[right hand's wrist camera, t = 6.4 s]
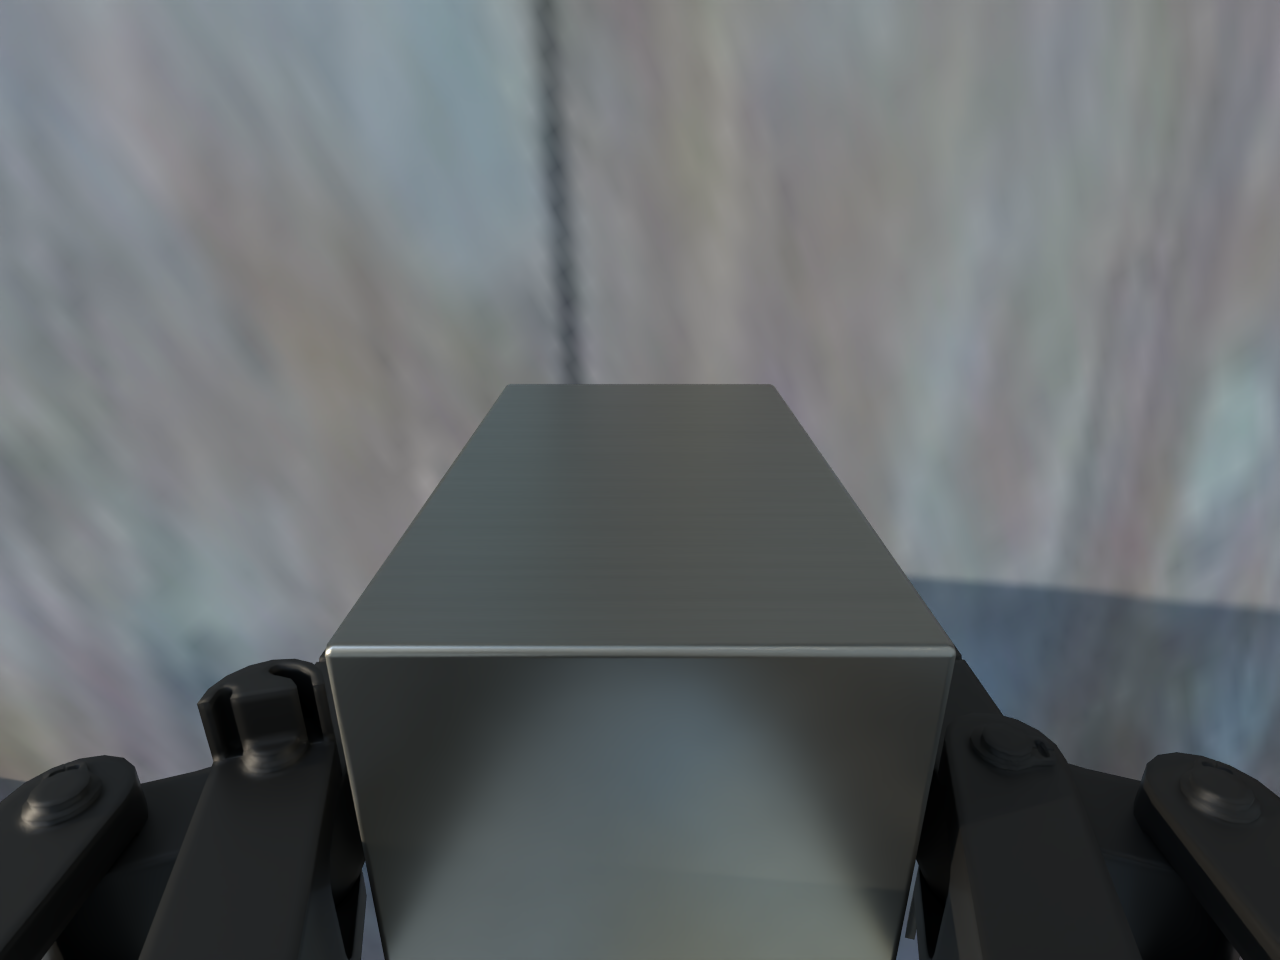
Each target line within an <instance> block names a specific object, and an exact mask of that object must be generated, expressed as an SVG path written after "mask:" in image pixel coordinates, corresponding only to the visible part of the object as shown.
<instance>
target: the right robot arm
mask: <svg viewBox="0 0 1280 960" xmlns="http://www.w3.org/2000/svg"><path fill="white" fill-rule="evenodd" d="M945 633H946V632H945ZM954 647H955V645H954ZM325 650H326V649H325ZM955 650H956V658H955V663H954V668H953V673H952V678H951V684H950V689H949V694H948V699H947V704H946V709H945V714H944V719H943V724H942V729H941V734H940V739H939V744H938V749H937V754H936V759H935V764H934V769H933V774H932V780H931V785H930V790H929V795H928V800H927V805H926V810H925V815H924V820H923V825H922V830H921V835H920V840H919V845H918V850H917V855H916V860H917V862H918V865H919V867H918V872H917V877H916V882H915V887H914V892H913V897H912V902H911V907H910V912H909V917H908V922H907V928H906V934H905V938H910V939H915V934H916V929H917V939H918V951H919V960H1239V957H1240V956H1241V957H1242V959H1243V960H1280V798H1279V797H1278V796H1277V795H1276V794H1274V793H1273V792H1272V791H1270V790H1269V789H1268V788H1267V787H1265V786H1264V785H1263V784H1262V783H1260V782H1259V781H1258V780H1256V779H1254V778H1252V777H1251V776H1249V775H1247V774H1245V773H1243V772H1241V771H1239V770H1237V769H1236V768H1234V767H1232V766H1230V765H1227V764H1224V763H1222V762H1219V761H1215V760H1213V759H1209V758H1207V757H1204V756H1199V755H1192V754H1185V753H1178V752H1176V753H1169V754H1162V755H1157V756H1156V757H1155V758H1154V759H1152V760H1151V761H1150V762H1149V763H1147V765H1146V768H1145V771H1144V774H1143V777H1142V780H1141V781H1138V780H1133V779H1129V778H1125V777H1120V776H1116V775H1111V774H1107V773H1102V772H1098V771H1093V770H1089V769H1085V768H1082V767H1078V766H1075V765H1072V764H1068V763H1067V761H1066V759H1065V758H1064V756H1063V754H1062V753H1061V751H1060V750H1059V748H1058V747H1057V745H1056V744H1055V743H1053V742H1052V741H1051V740H1050V739H1048V738H1047V737H1046V736H1045V735H1044V734H1042V733H1041V732H1040V731H1039V730H1037V729H1035V728H1033V727H1031V726H1029V725H1027V724H1025V723H1023V722H1021V721H1019V720H1017V719H1013V718H1009V717H1006V716H1003V714H1002V713H1001V712H1000V710H999V709H998V707H997V706H996V704H995V703H994V702H993V700H992V699H991V697H990V696H989V694H988V693H987V691H986V690H985V689H984V687H983V686H982V684H981V683H980V681H979V680H978V678H977V677H976V676H975V674H974V673H973V671H972V670H971V668H970V667H969V666H968V664H967V663H966V661H965V660H962V658H961V656H962V655H961V654H960V653H959V651H958V650H957V648H956V647H955ZM319 659H320V660H319V662H316V664H315V665H314V664H313V663H310V662H306V661H302V660H297V659H280V660H270V661H266V662H262V663H258V664H254V665H250V666H247V667H245V668H243V669H241V670H239V671H236V672H234V673H232V674H230V675H227V676H226V677H224V678H223V679H222V680H220V681H219V682H217V683H216V684H215V685H213V686H212V687H211V688H209V689H208V690H207V691H206V693H205V694H204V695H203V697H202V698H201V699H200V701H199V702H198V703H197V705H198V709H199V712H200V716H201V719H202V723H203V726H204V730H205V733H206V737H207V740H208V744H209V747H210V751H211V754H212V758H213V761H214V762H213V764H212V767H209V768H205V769H202V770H198V771H195V772H191V773H186V774H182V775H178V776H173V777H169V778H164V779H160V780H156V781H151V782H147V783H142V784H140V781H139V778H138V775H137V772H136V769H135V767H134V766H133V765H132V764H131V763H129V762H128V761H127V760H126V759H124V758H121V757H114V756H107V755H103V756H96V757H89V758H82V759H78V760H75V761H72V762H68V763H66V764H62V765H60V766H57V767H54V768H52V769H50V770H48V771H46V772H44V773H42V774H40V775H39V776H37V777H35V778H33V779H31V780H29V781H27V782H26V783H24V784H23V785H22V786H20V787H19V788H18V789H16V790H15V791H14V792H13V793H11V794H10V795H9V796H8V797H6V798H5V799H4V800H3V801H1V802H0V960H41V959H42V960H361V953H362V941H363V930H364V919H365V908H366V896H367V895H366V889H365V883H364V877H363V872H362V867H363V865H364V862H365V856H364V851H363V846H362V841H361V836H360V831H359V826H358V821H357V816H356V810H355V805H354V800H353V795H352V790H351V785H350V780H349V775H348V770H347V765H346V760H345V755H344V750H343V744H342V739H341V734H340V729H339V724H338V719H337V714H336V709H335V704H334V699H333V694H332V689H331V684H330V678H329V673H328V668H327V663H326V658H325V651H324V652H323V653H322V655H321V656H320V658H319Z"/></svg>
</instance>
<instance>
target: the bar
mask: <svg viewBox="0 0 1280 960" xmlns="http://www.w3.org/2000/svg"><path fill="white" fill-rule="evenodd" d="M325 658H326V663H327V668H328V673H329V678H330V684H331V689H332V694H333V699H334V704H335V709H336V714H337V719H338V724H339V729H340V734H341V739H342V744H343V750H344V755H345V760H346V765H347V770H348V775H349V780H350V785H351V790H352V795H353V800H354V805H355V810H356V816H357V821H358V826H359V831H360V836H361V841H362V846H363V851H364V856H365V861H366V866H367V871H368V876H369V882H370V887H371V892H372V897H373V902H374V907H375V912H376V917H377V922H378V927H379V932H380V937H381V942H382V948H383V953H384V958H385V960H896V956H897V951H898V946H899V941H900V936H901V931H902V926H903V921H904V916H905V911H906V906H907V901H908V896H909V891H910V886H911V881H912V876H913V870H914V865H915V860H916V855H917V850H918V845H919V840H920V835H921V830H922V825H923V820H924V815H925V810H926V805H927V800H928V795H929V790H930V785H931V780H932V774H933V769H934V764H935V759H936V754H937V749H938V744H939V739H940V734H941V729H942V724H943V719H944V714H945V709H946V704H947V699H948V694H949V689H950V684H951V678H952V673H953V668H954V663H955V658H956V650H955V647H954V644H953V643H952V641H951V640H950V638H949V637H948V635H947V634H946V633H945V631H944V630H943V628H942V627H941V625H940V624H939V622H938V621H937V620H936V618H935V617H934V615H933V614H932V612H931V611H930V610H929V608H928V607H927V605H926V604H925V602H924V601H923V599H922V598H921V597H920V595H919V594H918V592H917V591H916V589H915V588H914V587H913V585H912V584H911V582H910V581H909V579H908V578H907V577H906V575H905V574H904V572H903V571H902V569H901V568H900V566H899V565H898V564H897V562H896V561H895V559H894V558H893V556H892V555H891V554H890V552H889V551H888V549H887V548H886V546H885V545H884V543H883V542H882V541H881V539H880V538H879V536H878V535H877V533H876V532H875V531H874V529H873V528H872V526H871V525H870V523H869V522H868V521H867V519H866V518H865V516H864V515H863V513H862V512H861V510H860V509H859V508H858V506H857V505H856V503H855V502H854V500H853V499H852V498H851V496H850V495H849V493H848V492H847V490H846V489H845V487H844V486H843V485H842V483H841V482H840V480H839V479H838V477H837V476H836V475H835V473H834V472H833V470H832V469H831V467H830V466H829V465H828V463H827V462H826V460H825V459H824V457H823V456H822V454H821V453H820V452H819V450H818V449H817V447H816V446H815V444H814V443H813V442H812V440H811V439H810V437H809V436H808V434H807V433H806V431H805V430H804V429H803V427H802V426H801V424H800V423H799V421H798V420H797V419H796V417H795V416H794V414H793V413H792V411H791V410H790V409H789V407H788V406H787V404H786V403H785V401H784V400H783V398H782V397H781V396H780V394H779V393H778V391H777V390H776V388H775V387H774V386H773V385H770V384H510V385H507V386H506V388H505V389H504V390H503V392H502V393H501V395H500V396H499V398H498V399H497V401H496V402H495V403H494V405H493V406H492V408H491V409H490V411H489V412H488V413H487V415H486V416H485V418H484V419H483V421H482V422H481V424H480V425H479V426H478V428H477V429H476V431H475V432H474V434H473V435H472V437H471V438H470V439H469V441H468V442H467V444H466V445H465V447H464V448H463V449H462V451H461V452H460V454H459V455H458V457H457V458H456V460H455V461H454V462H453V464H452V465H451V467H450V468H449V470H448V471H447V473H446V474H445V475H444V477H443V478H442V480H441V481H440V483H439V484H438V485H437V487H436V488H435V490H434V491H433V493H432V494H431V496H430V497H429V498H428V500H427V501H426V503H425V504H424V506H423V507H422V509H421V510H420V511H419V513H418V514H417V516H416V517H415V519H414V520H413V522H412V523H411V524H410V526H409V527H408V529H407V530H406V532H405V533H404V534H403V536H402V537H401V539H400V540H399V542H398V543H397V545H396V546H395V547H394V549H393V550H392V552H391V553H390V555H389V556H388V558H387V559H386V560H385V562H384V563H383V565H382V566H381V568H380V569H379V570H378V572H377V573H376V575H375V576H374V578H373V579H372V581H371V582H370V583H369V585H368V586H367V588H366V589H365V591H364V592H363V594H362V595H361V596H360V598H359V599H358V601H357V602H356V604H355V605H354V606H353V608H352V609H351V611H350V612H349V614H348V615H347V617H346V618H345V619H344V621H343V622H342V624H341V625H340V627H339V628H338V630H337V631H336V632H335V634H334V635H333V637H332V638H331V640H330V641H329V643H328V644H327V647H326V650H325Z"/></svg>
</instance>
